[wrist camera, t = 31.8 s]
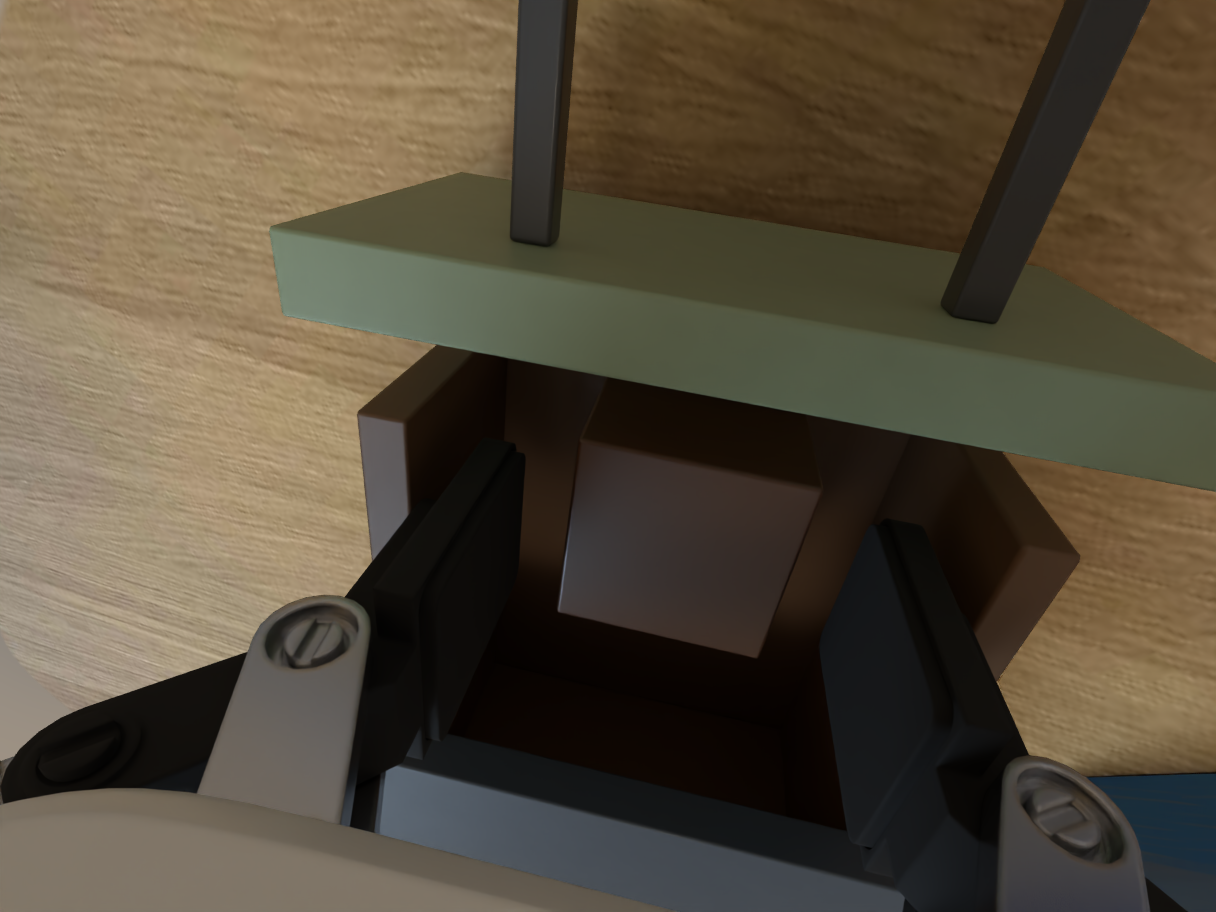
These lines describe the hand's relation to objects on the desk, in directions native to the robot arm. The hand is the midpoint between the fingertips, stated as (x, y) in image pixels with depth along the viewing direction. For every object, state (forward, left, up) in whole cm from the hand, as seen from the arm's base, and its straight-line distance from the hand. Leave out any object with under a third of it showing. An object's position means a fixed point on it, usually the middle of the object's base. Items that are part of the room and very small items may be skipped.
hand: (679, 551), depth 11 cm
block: (0, 0, -4) cm, 4 cm away
